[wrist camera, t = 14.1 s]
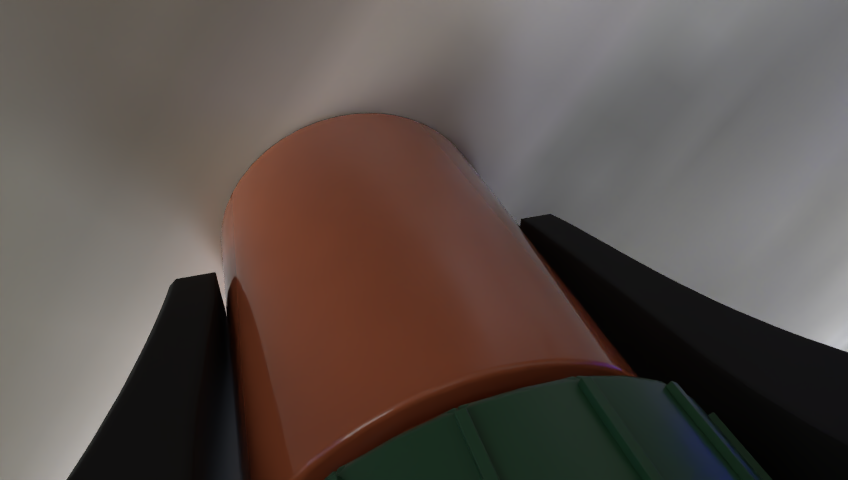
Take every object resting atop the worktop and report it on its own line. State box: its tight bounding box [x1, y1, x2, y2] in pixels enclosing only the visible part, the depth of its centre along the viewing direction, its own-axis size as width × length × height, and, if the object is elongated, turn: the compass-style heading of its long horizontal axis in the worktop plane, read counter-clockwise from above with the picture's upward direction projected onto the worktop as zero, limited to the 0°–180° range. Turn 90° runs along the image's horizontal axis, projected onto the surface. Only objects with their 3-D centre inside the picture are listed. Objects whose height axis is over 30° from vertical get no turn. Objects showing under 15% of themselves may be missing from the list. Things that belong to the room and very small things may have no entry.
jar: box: [221, 113, 639, 480], centre depth 9 cm, size 5×5×8 cm
